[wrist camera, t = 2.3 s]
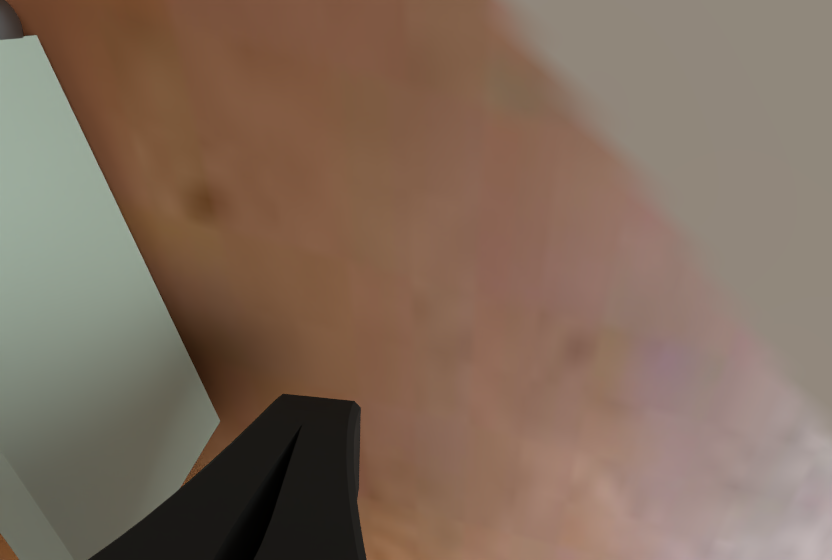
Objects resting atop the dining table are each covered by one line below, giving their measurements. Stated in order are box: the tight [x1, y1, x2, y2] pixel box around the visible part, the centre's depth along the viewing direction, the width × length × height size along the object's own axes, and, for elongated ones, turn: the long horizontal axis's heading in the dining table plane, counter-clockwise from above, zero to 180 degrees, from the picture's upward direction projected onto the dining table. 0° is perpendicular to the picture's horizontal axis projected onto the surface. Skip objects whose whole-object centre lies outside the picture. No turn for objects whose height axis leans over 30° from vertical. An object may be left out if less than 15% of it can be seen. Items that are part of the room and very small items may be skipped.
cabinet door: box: [0, 0, 220, 560], centre depth 11 cm, size 1×10×5 cm, turn 15°
